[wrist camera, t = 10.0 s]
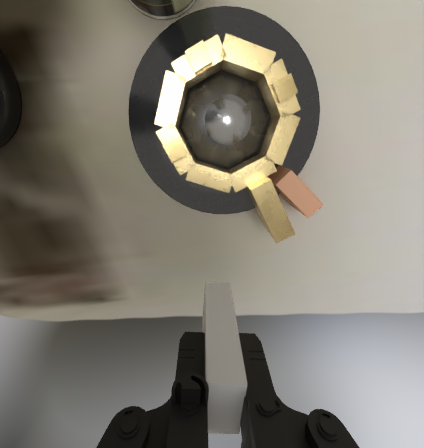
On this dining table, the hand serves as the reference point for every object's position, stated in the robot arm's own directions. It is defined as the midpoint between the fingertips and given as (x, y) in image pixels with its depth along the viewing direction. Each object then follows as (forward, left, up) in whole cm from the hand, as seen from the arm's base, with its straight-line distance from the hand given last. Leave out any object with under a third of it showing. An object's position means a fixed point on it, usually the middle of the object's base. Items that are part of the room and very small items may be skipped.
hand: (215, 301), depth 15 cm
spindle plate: (-10, +6, -23) cm, 25 cm away
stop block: (+1, +11, -23) cm, 25 cm away
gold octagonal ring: (-6, +7, -20) cm, 22 cm away
